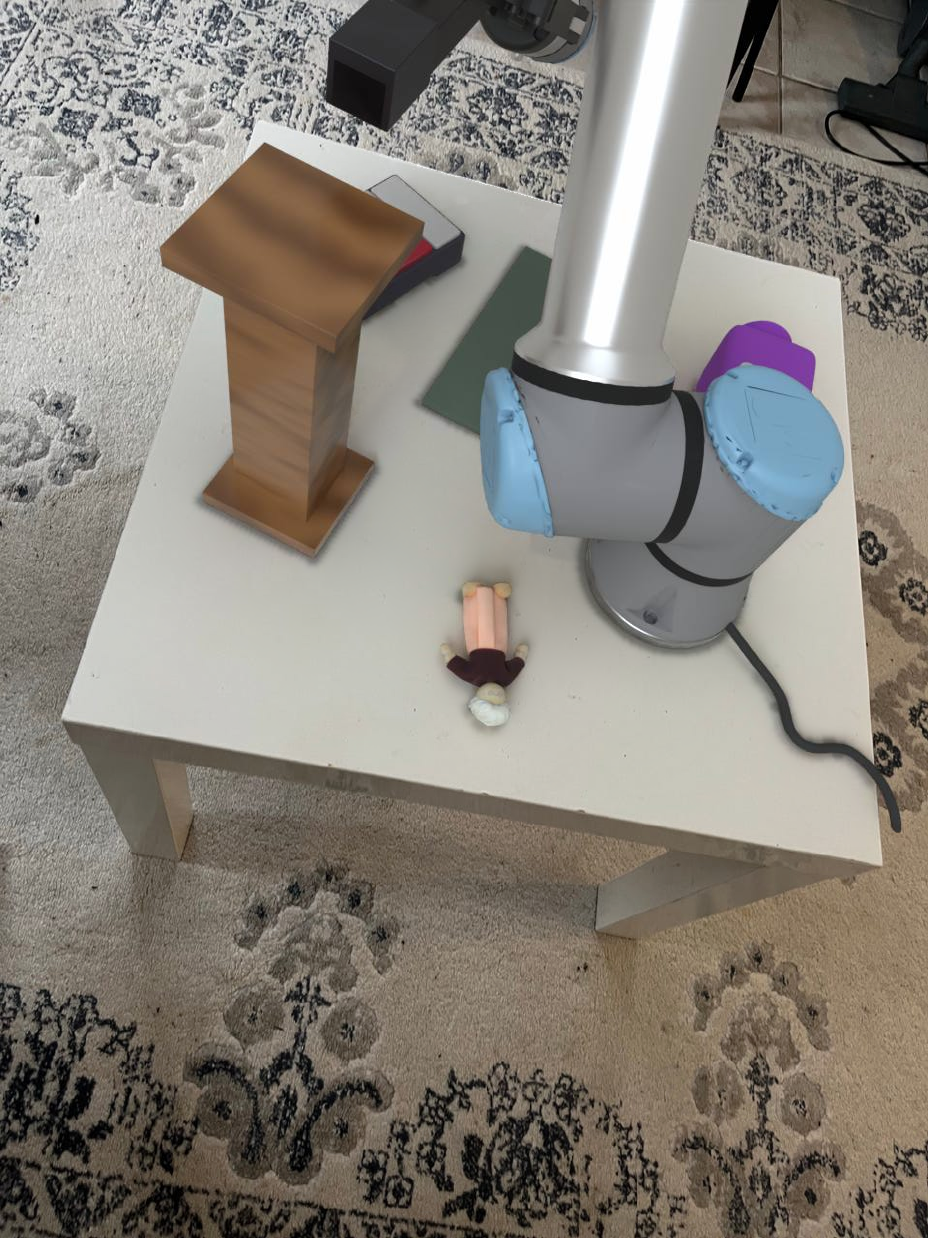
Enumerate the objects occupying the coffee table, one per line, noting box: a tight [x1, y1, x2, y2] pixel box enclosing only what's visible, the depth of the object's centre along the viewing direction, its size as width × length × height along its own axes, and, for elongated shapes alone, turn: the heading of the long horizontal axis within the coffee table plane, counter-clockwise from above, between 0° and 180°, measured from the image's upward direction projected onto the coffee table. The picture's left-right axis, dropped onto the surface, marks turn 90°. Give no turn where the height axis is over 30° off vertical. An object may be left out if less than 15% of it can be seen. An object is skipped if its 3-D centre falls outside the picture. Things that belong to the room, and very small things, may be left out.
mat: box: [421, 245, 552, 435], centre depth 93 cm, size 26×11×1 cm, turn 155°
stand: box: [159, 141, 425, 560], centre depth 68 cm, size 12×12×28 cm
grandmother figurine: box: [439, 581, 530, 727], centre depth 75 cm, size 8×4×13 cm
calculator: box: [362, 174, 466, 321], centre depth 93 cm, size 11×4×15 cm
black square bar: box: [324, 0, 492, 133], centre depth 59 cm, size 22×4×4 cm, turn 155°
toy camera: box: [694, 320, 817, 394], centre depth 90 cm, size 11×14×10 cm
